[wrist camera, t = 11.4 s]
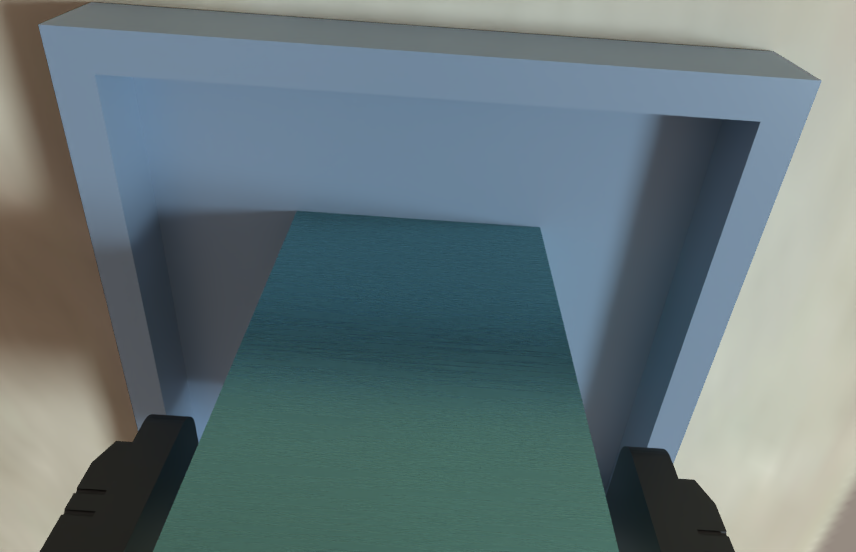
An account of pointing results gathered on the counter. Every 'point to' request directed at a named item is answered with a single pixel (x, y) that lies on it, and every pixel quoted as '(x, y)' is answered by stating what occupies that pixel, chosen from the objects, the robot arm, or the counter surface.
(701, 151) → the tray
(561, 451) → the tea tin
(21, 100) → the counter surface
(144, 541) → the robot arm
